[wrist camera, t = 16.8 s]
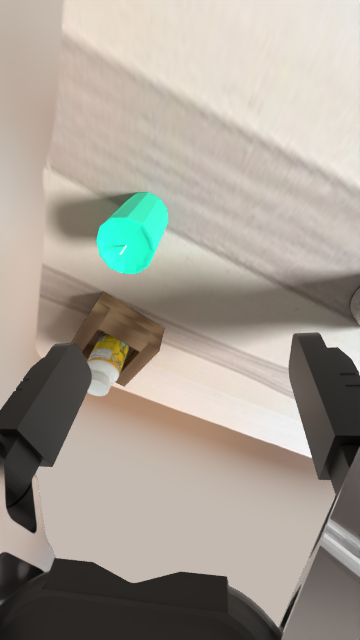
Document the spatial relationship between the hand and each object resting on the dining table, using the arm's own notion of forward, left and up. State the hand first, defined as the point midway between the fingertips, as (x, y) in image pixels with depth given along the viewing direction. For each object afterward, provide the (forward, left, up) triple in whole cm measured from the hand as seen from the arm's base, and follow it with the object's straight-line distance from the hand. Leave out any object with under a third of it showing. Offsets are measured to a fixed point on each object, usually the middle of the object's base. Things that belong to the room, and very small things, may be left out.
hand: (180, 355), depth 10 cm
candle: (+4, +7, -28) cm, 29 cm away
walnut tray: (-3, +27, -28) cm, 40 cm away
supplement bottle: (-3, +27, -26) cm, 38 cm away
